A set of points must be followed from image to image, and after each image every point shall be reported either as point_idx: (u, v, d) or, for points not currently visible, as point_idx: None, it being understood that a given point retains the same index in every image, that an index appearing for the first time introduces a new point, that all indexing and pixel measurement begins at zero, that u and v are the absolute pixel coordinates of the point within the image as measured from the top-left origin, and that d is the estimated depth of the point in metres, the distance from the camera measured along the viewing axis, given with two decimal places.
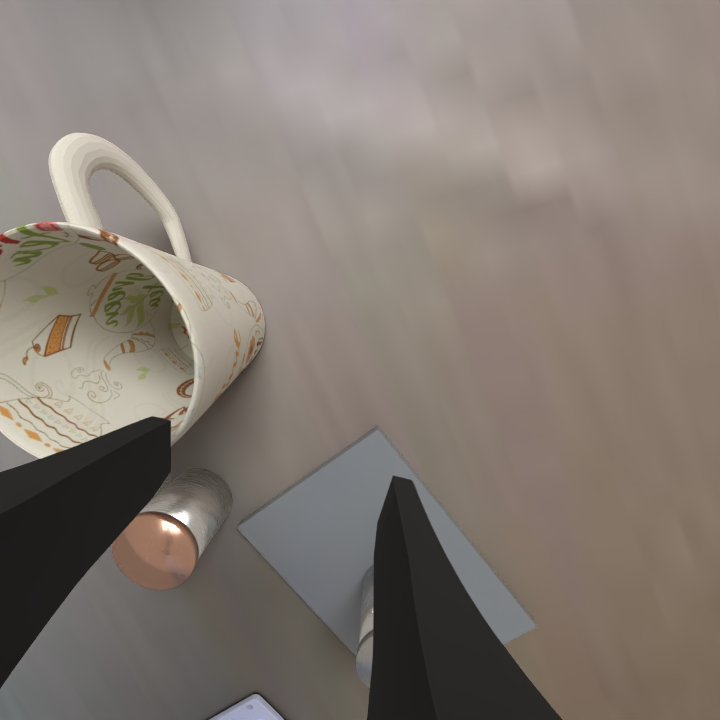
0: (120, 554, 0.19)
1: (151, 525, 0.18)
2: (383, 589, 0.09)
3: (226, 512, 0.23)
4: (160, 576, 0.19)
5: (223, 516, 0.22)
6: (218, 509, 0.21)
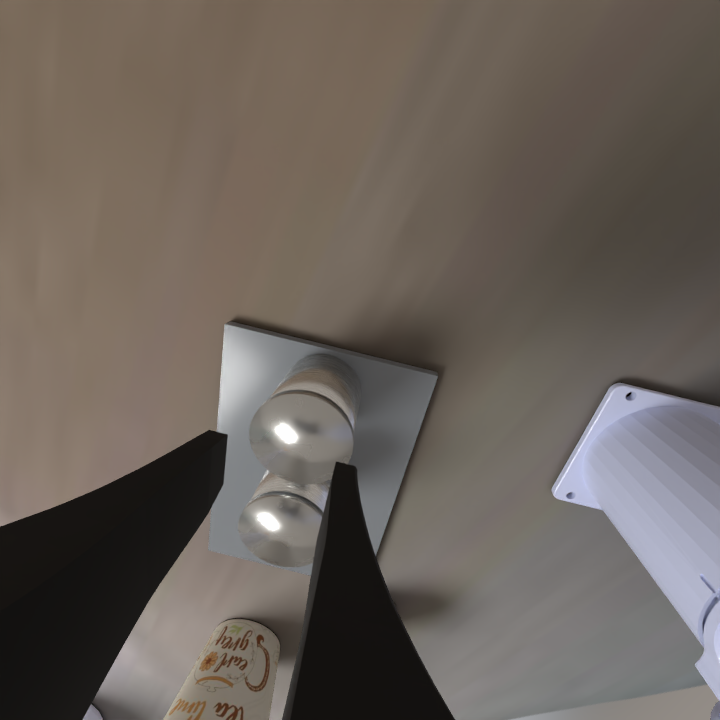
0: None
1: None
2: (314, 572, 0.09)
3: None
4: None
5: None
6: None
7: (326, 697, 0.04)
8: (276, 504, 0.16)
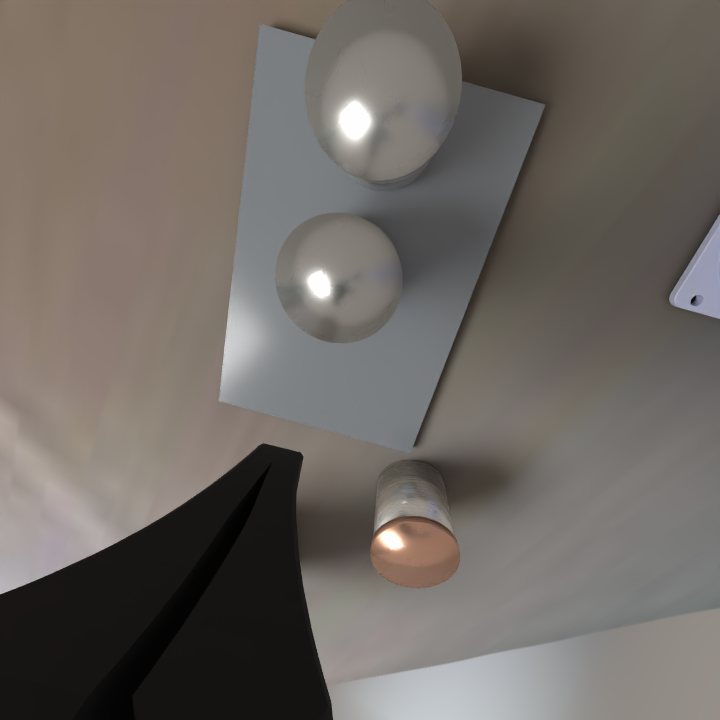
0: (434, 578, 0.18)
1: (384, 568, 0.18)
2: None
3: (396, 471, 0.21)
4: (434, 544, 0.17)
5: (396, 476, 0.20)
6: (384, 487, 0.20)
7: (191, 663, 0.04)
8: (334, 224, 0.11)
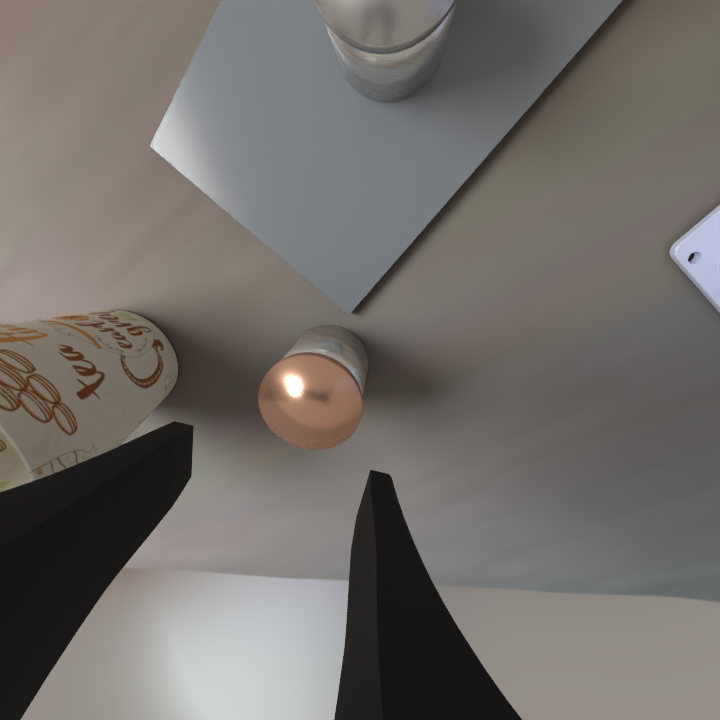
0: (320, 440, 0.15)
1: (269, 407, 0.15)
2: (356, 582, 0.09)
3: (325, 329, 0.18)
4: (339, 396, 0.15)
5: (322, 332, 0.18)
6: (305, 337, 0.17)
7: (413, 719, 0.04)
8: None
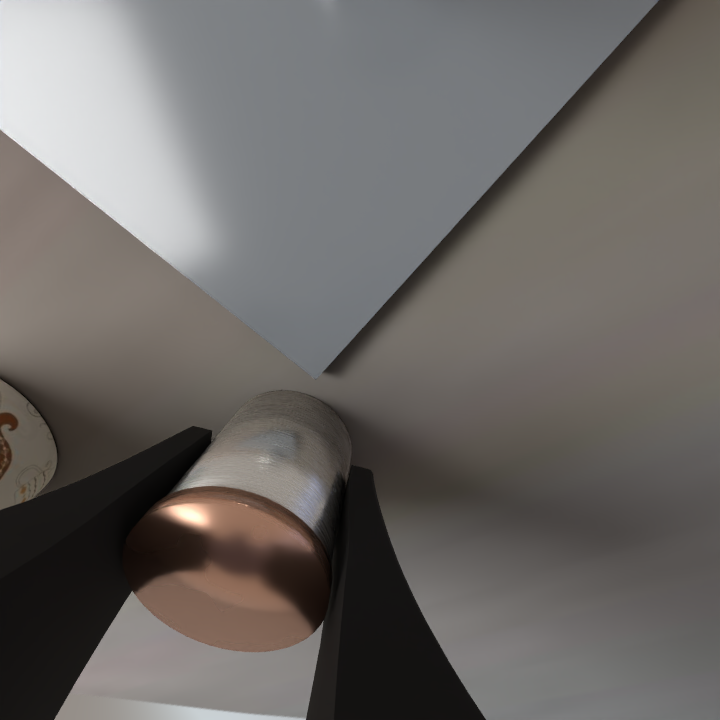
0: (253, 639, 0.08)
1: (148, 585, 0.08)
2: (333, 577, 0.09)
3: (276, 403, 0.10)
4: (281, 575, 0.07)
5: (270, 410, 0.10)
6: (237, 423, 0.10)
7: (365, 707, 0.04)
8: None
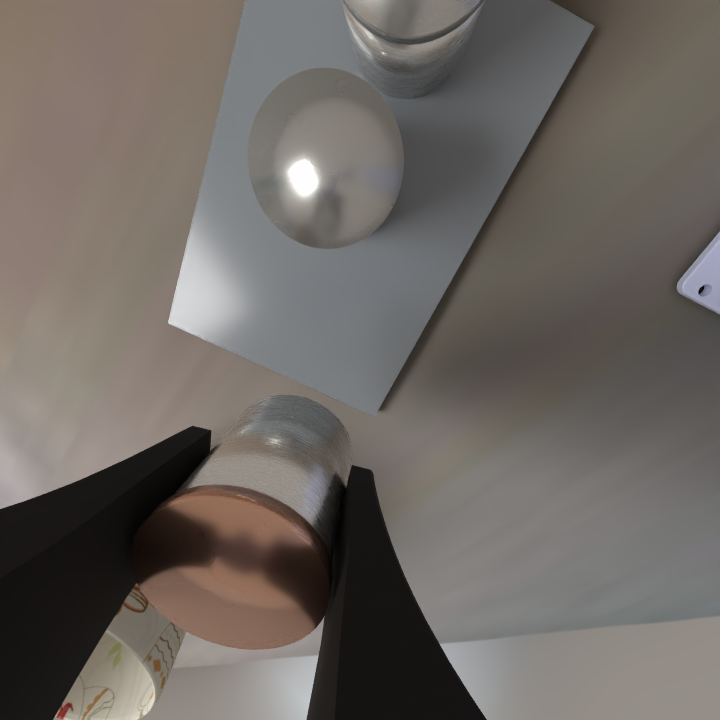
0: (257, 636, 0.08)
1: (155, 583, 0.08)
2: (333, 577, 0.09)
3: (276, 407, 0.11)
4: (282, 569, 0.07)
5: (270, 414, 0.10)
6: (239, 426, 0.10)
7: (366, 707, 0.04)
8: (332, 84, 0.09)
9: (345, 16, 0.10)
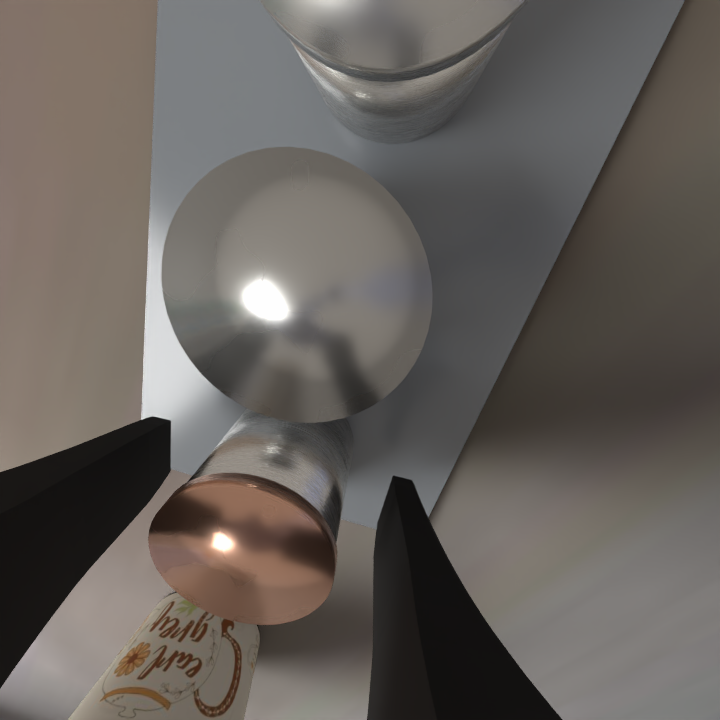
0: (268, 612, 0.09)
1: (172, 565, 0.09)
2: (383, 589, 0.09)
3: None
4: (290, 550, 0.08)
5: None
6: (246, 419, 0.11)
7: None
8: (284, 175, 0.05)
9: None
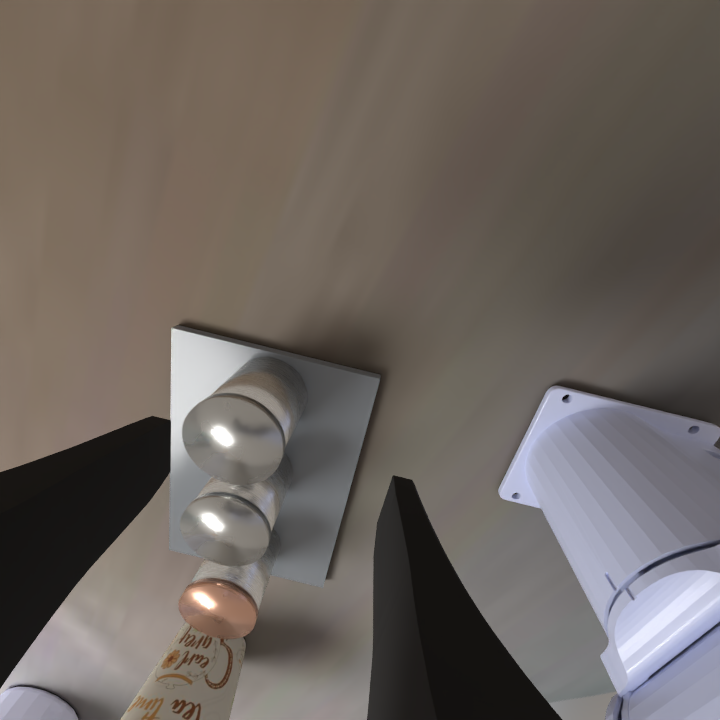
0: (231, 633, 0.20)
1: (188, 615, 0.20)
2: (383, 589, 0.09)
3: None
4: (235, 608, 0.19)
5: None
6: None
7: None
8: (216, 505, 0.17)
9: None
